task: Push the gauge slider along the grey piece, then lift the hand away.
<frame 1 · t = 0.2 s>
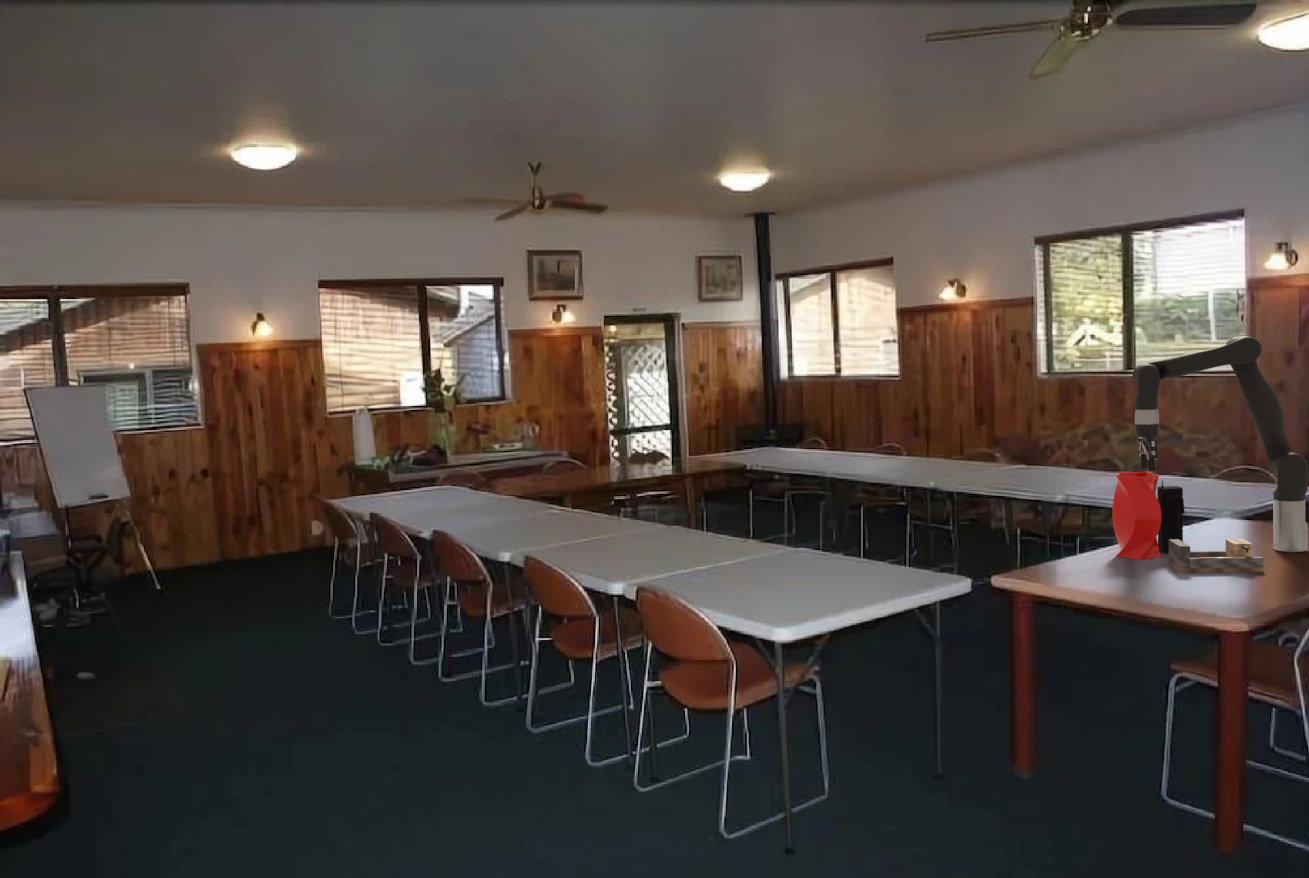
hand: (1147, 469, 359), 29 cm above the table, fingers open, 8 cm apart
grey piece: (1215, 568, 332), on the table
vase: (1135, 555, 358), on the table
portable radio: (1171, 552, 360), on the table
gauge slider: (1240, 553, 328), point 5 cm above the table, slide at 0.0 cm
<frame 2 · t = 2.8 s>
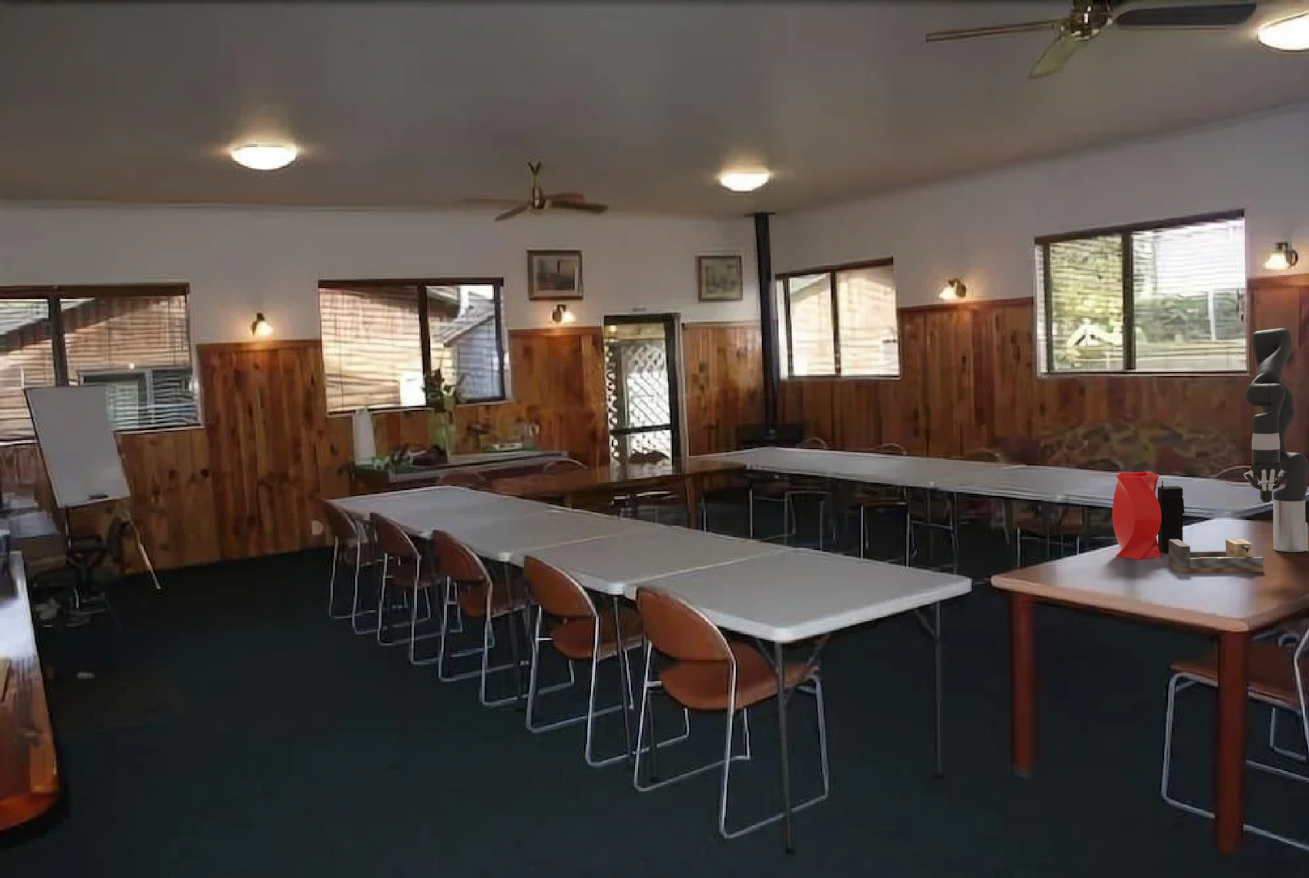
hand: (1266, 502, 327), 21 cm above the table, fingers closed
nothing on the table moved.
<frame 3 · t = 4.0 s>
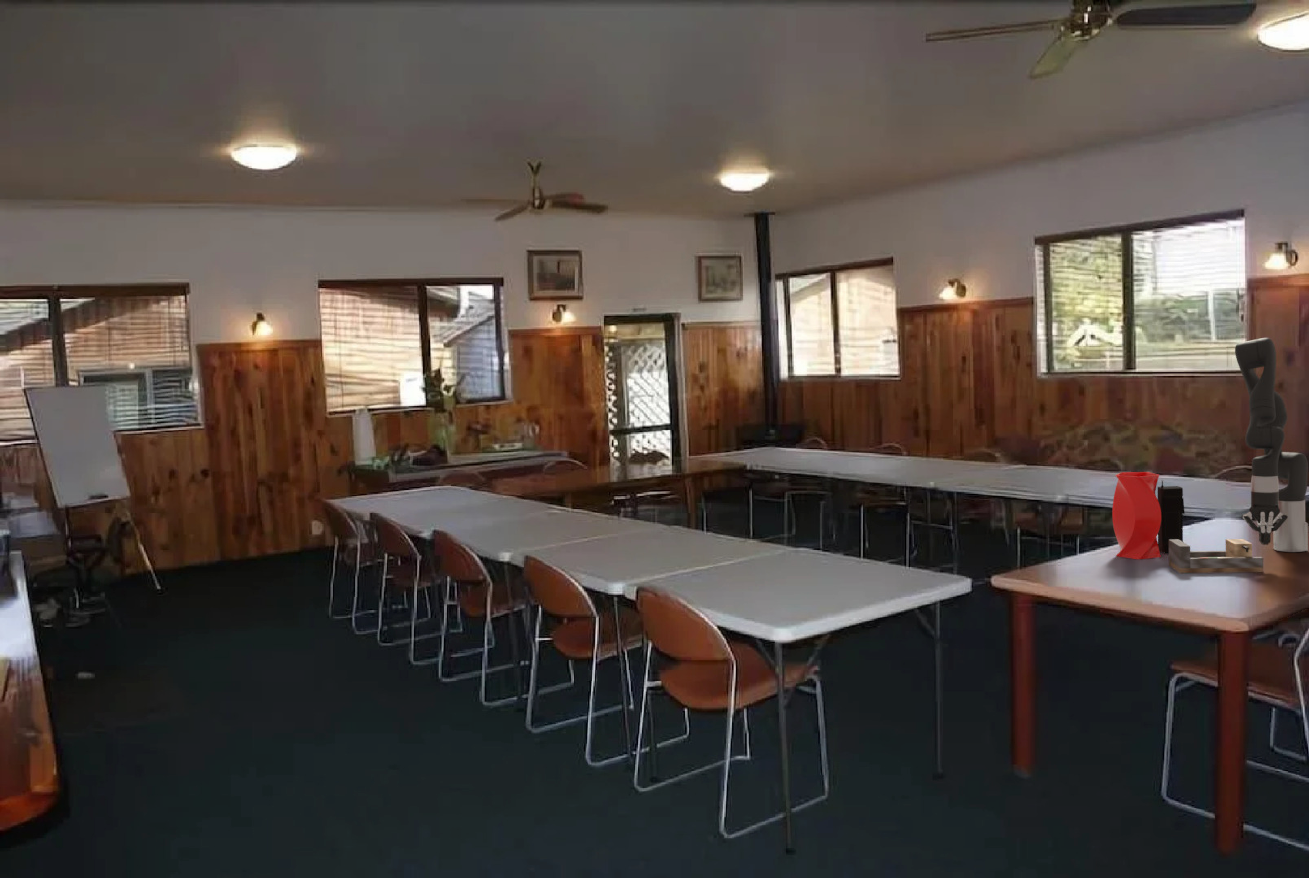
hand: (1264, 544, 329), 8 cm above the table, fingers closed
nothing on the table moved.
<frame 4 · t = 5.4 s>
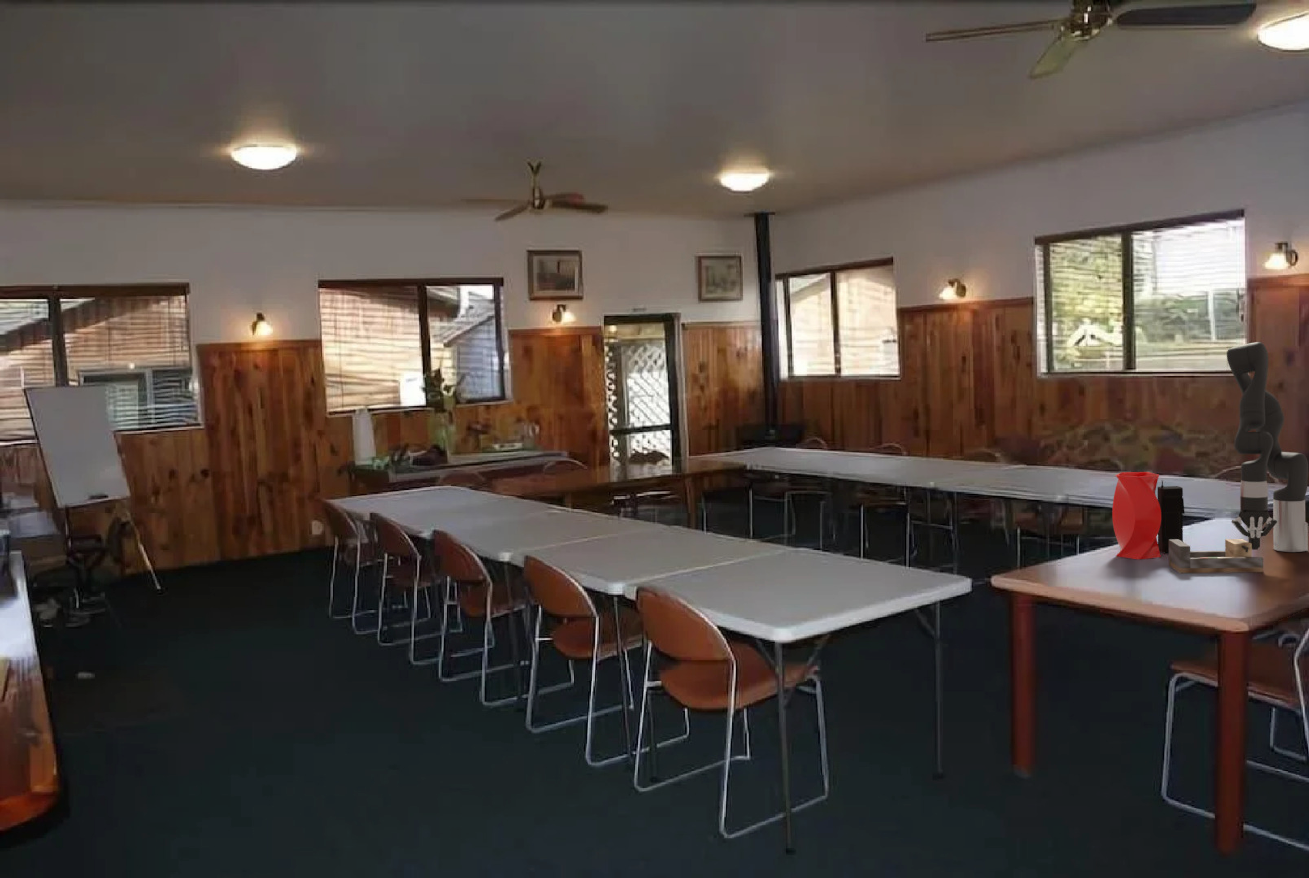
hand: (1254, 549, 329), 6 cm above the table, fingers closed
gauge slider: (1240, 553, 328), point 5 cm above the table, slide at 0.1 cm, touching gripper
everything else where it was.
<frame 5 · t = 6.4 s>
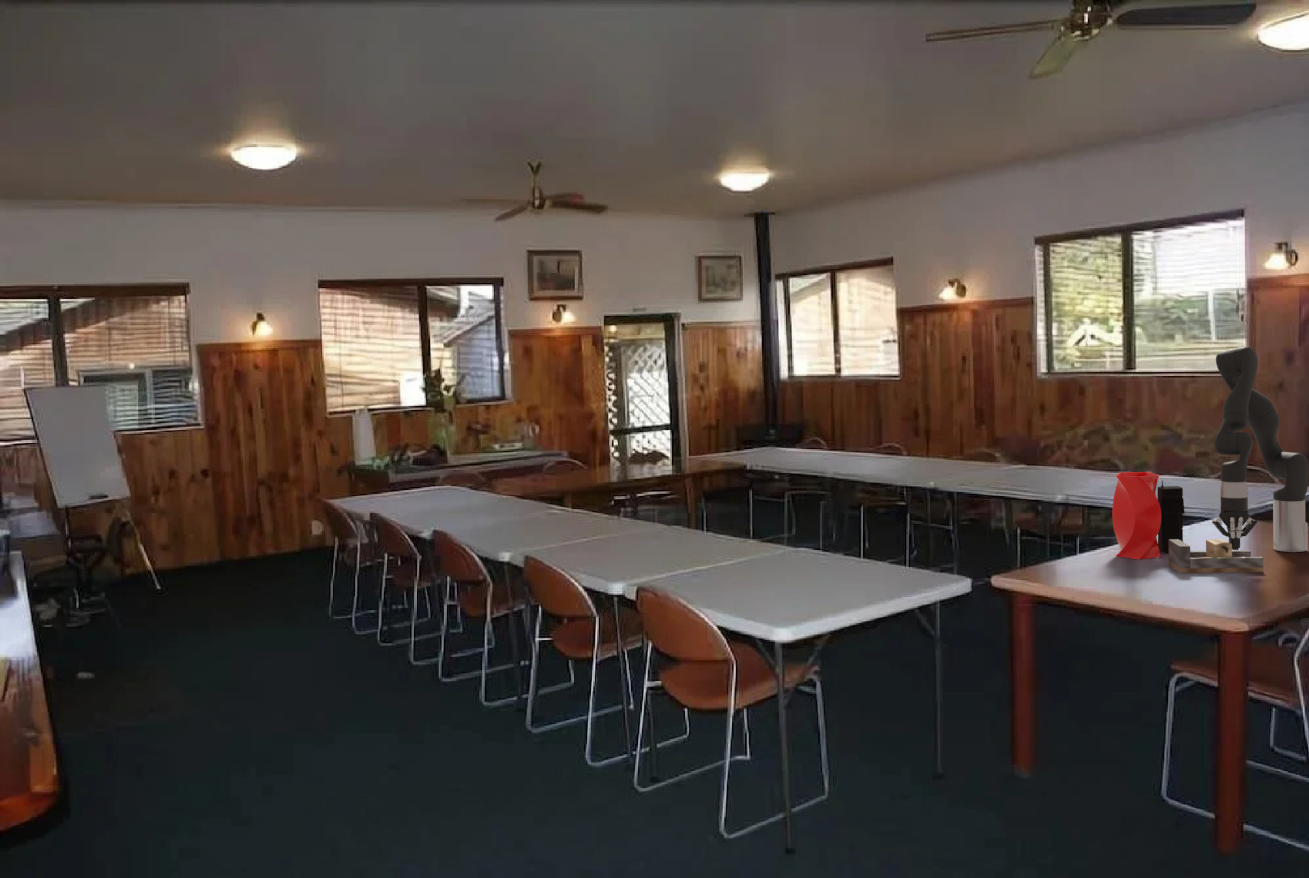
hand: (1234, 549, 330), 6 cm above the table, fingers closed
gauge slider: (1220, 553, 330), point 5 cm above the table, slide at 5.9 cm, touching gripper
everything else where it was.
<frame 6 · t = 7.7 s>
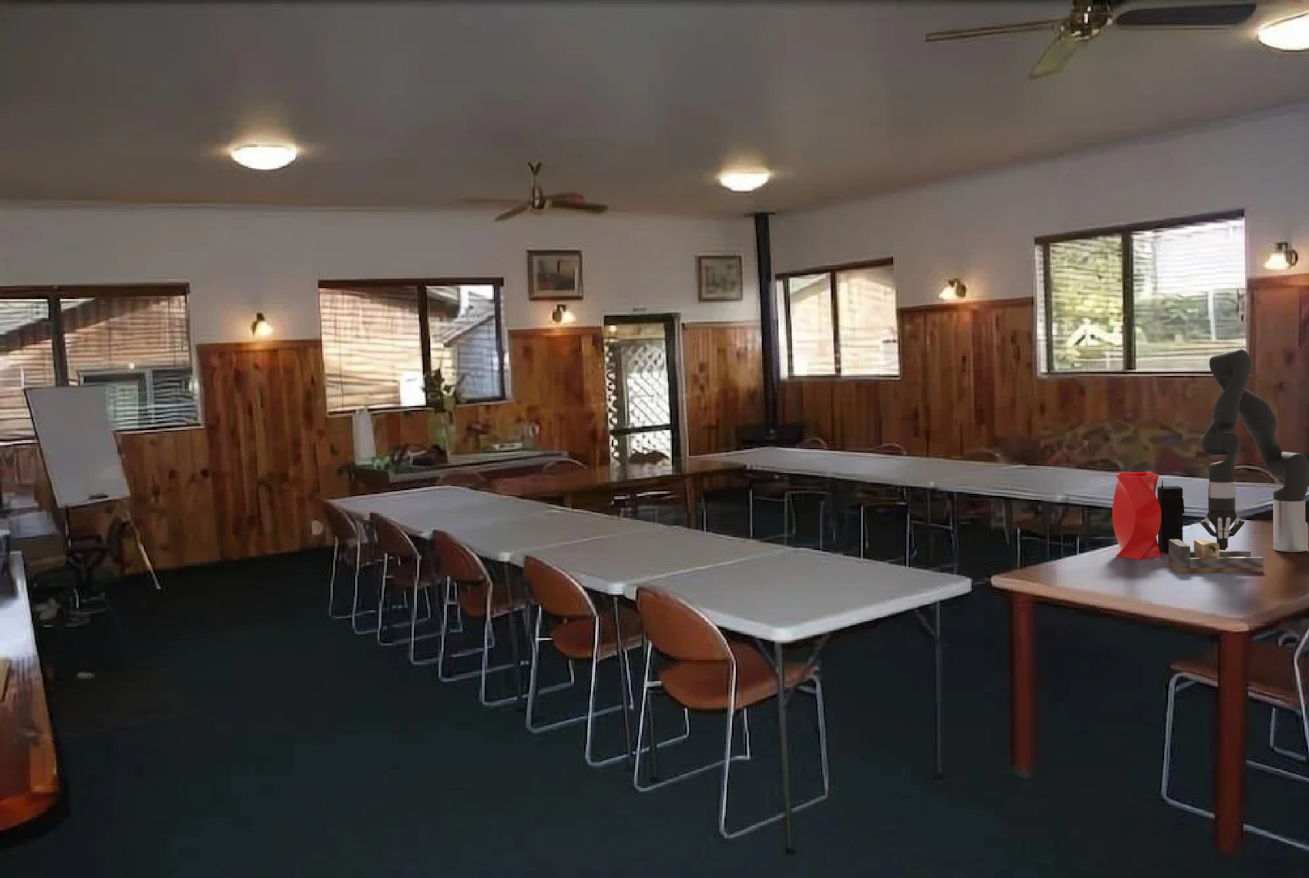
hand: (1222, 549, 331), 6 cm above the table, fingers closed
gauge slider: (1208, 553, 330), point 5 cm above the table, slide at 9.4 cm, touching gripper
everything else where it was.
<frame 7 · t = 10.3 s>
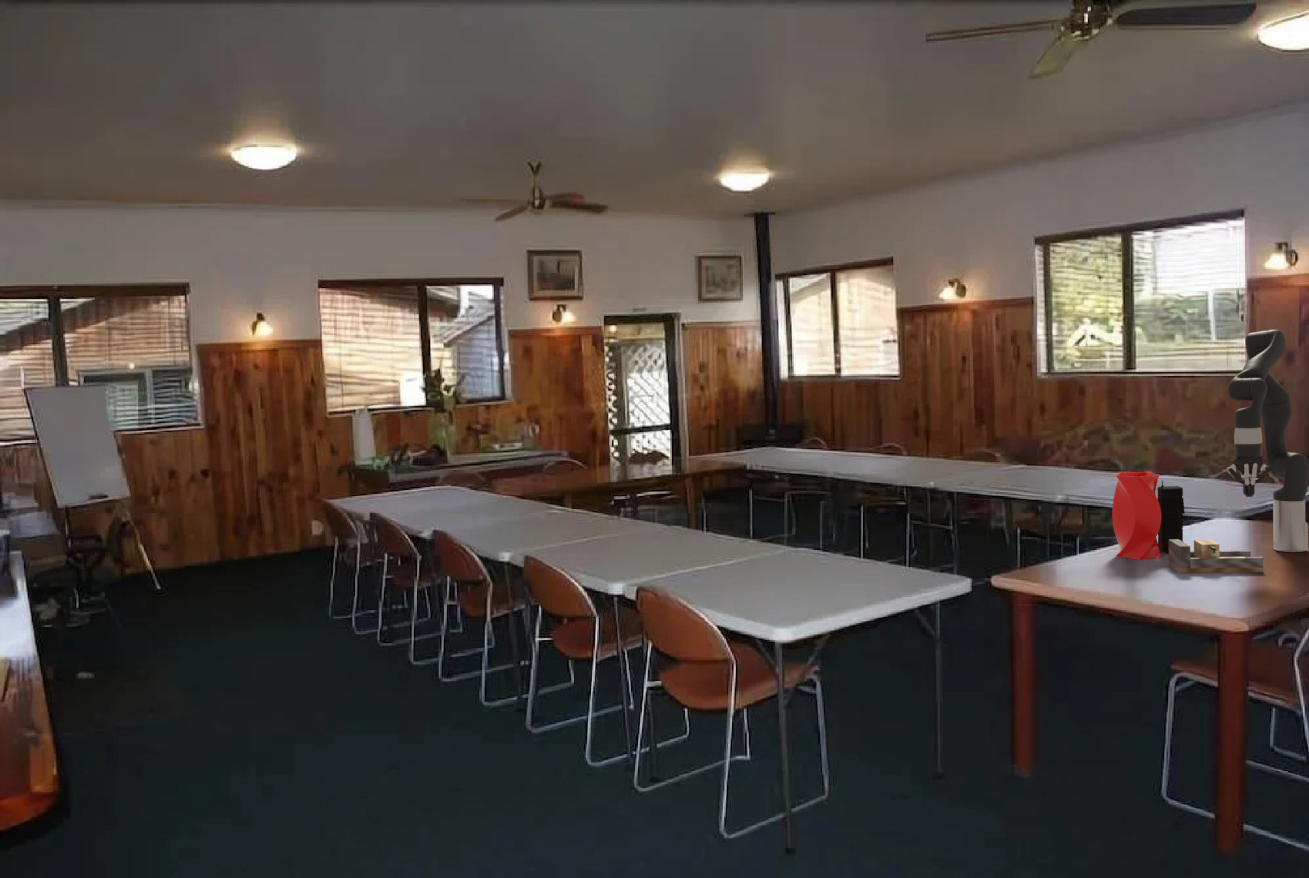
hand: (1248, 496, 328), 23 cm above the table, fingers closed
gauge slider: (1208, 553, 330), point 5 cm above the table, slide at 9.4 cm
everything else where it was.
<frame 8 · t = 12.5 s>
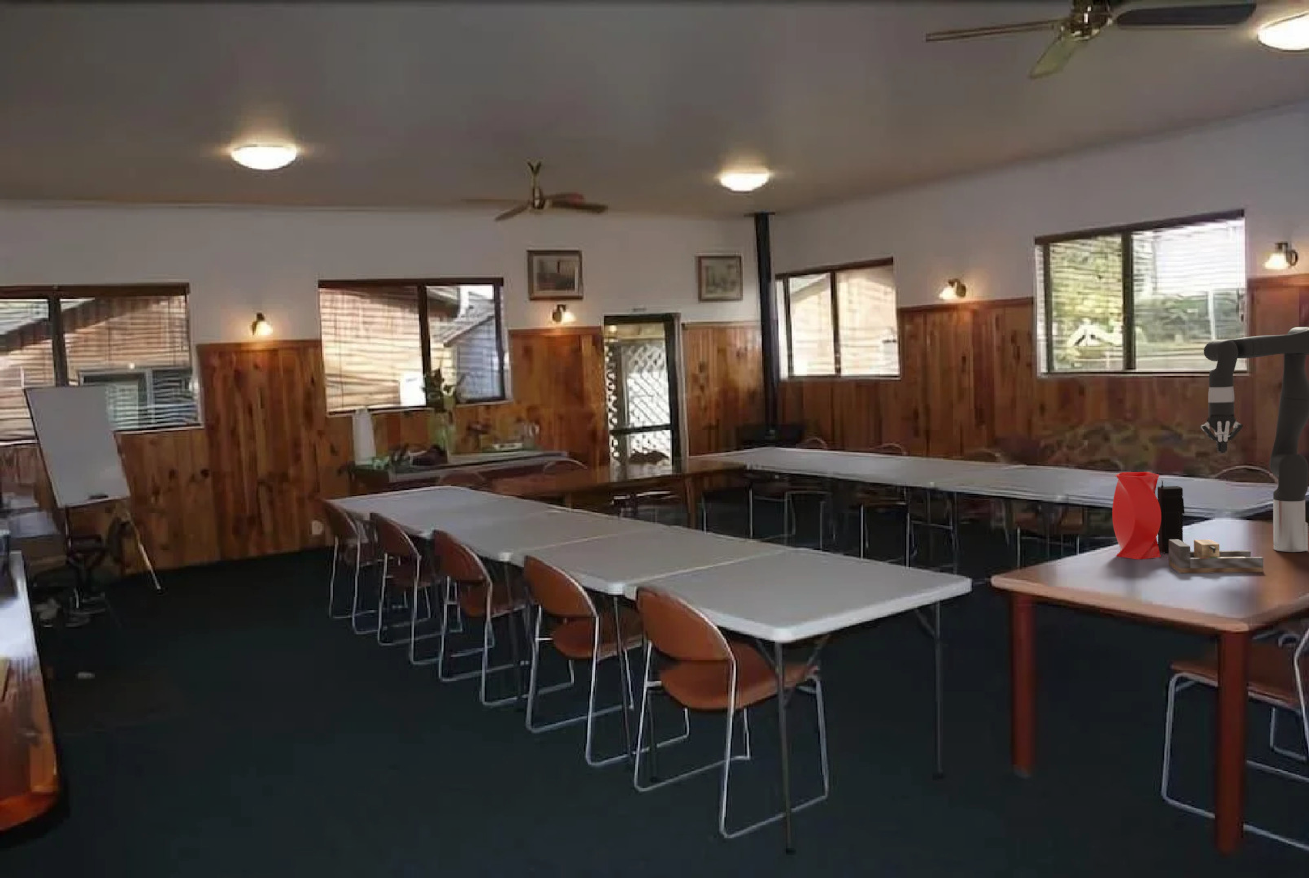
hand: (1221, 452, 345), 35 cm above the table, fingers closed
nothing on the table moved.
at the end: gauge slider slide at 9.4 cm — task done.
